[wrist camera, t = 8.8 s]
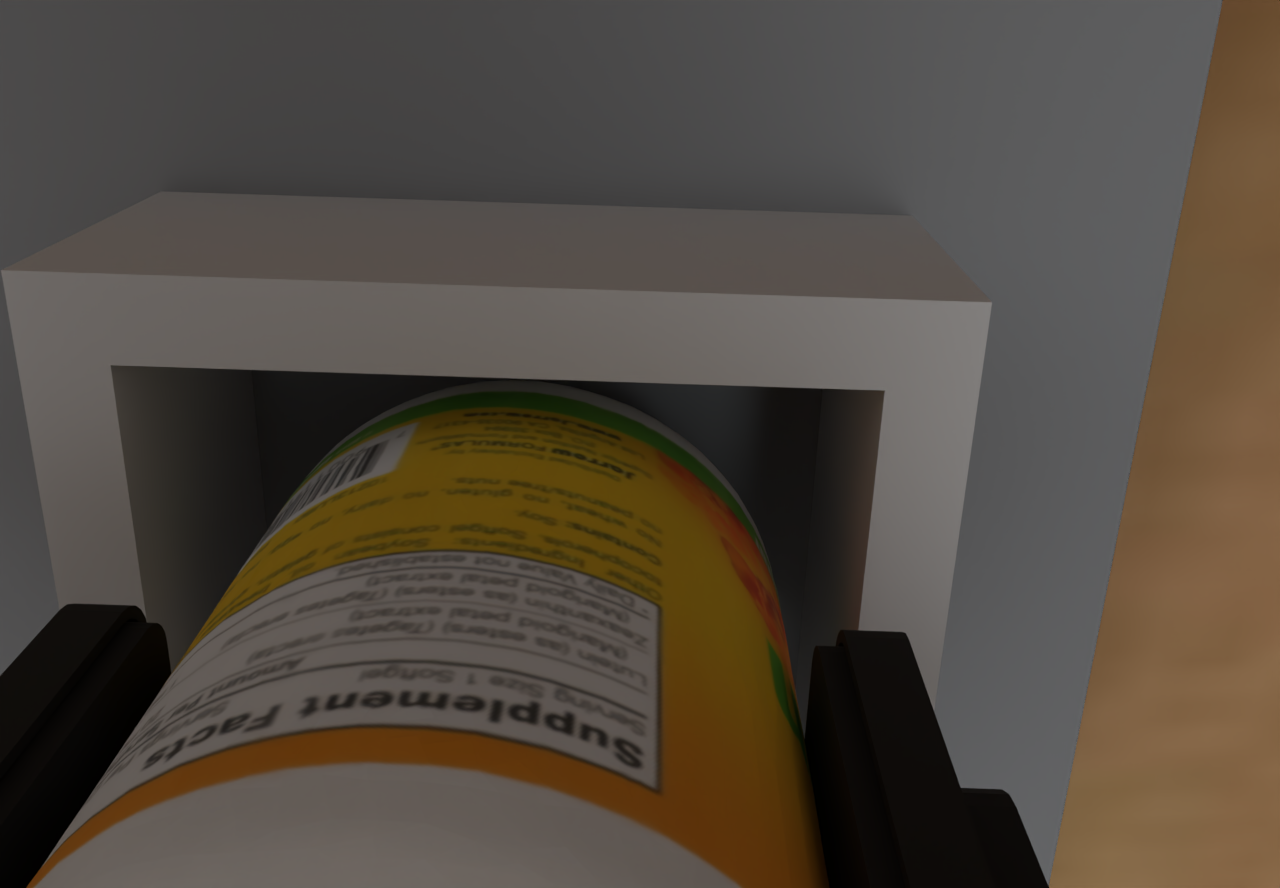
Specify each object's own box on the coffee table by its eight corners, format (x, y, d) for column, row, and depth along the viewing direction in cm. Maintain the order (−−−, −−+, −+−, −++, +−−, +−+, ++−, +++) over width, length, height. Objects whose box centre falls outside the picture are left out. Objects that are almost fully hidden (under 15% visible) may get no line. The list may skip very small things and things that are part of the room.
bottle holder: (-94, -104, 13) (-456, -127, 9) (1187, -64, 13) (1441, -67, 9) (88, 899, 19) (-86, 1188, 14) (1005, 932, 19) (1109, 1232, 14)
